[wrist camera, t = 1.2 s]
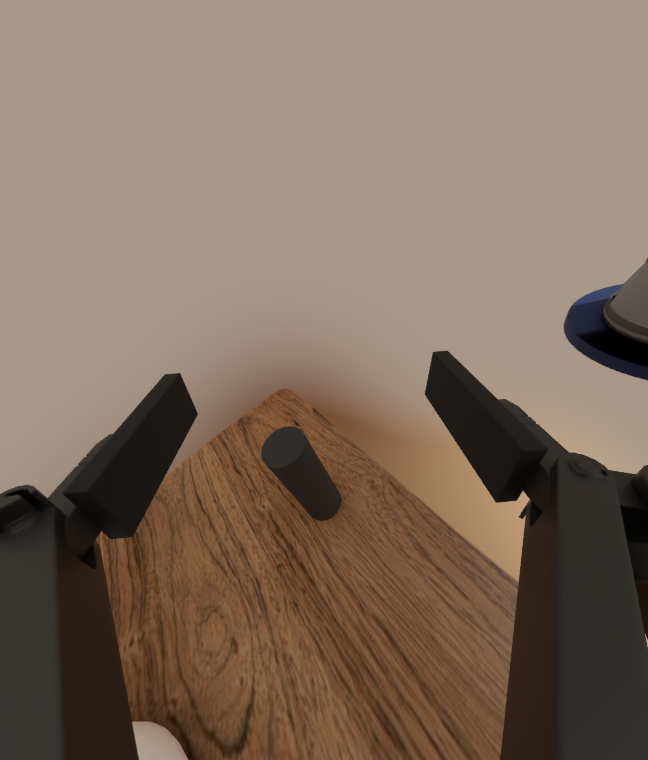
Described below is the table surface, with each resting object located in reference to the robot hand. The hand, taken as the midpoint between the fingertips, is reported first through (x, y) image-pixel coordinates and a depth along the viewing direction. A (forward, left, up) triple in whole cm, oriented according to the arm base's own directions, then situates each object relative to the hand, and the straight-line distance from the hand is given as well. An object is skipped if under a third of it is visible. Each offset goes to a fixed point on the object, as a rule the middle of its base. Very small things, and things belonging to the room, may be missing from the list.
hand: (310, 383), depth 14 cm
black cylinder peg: (+5, -2, -20) cm, 21 cm away
